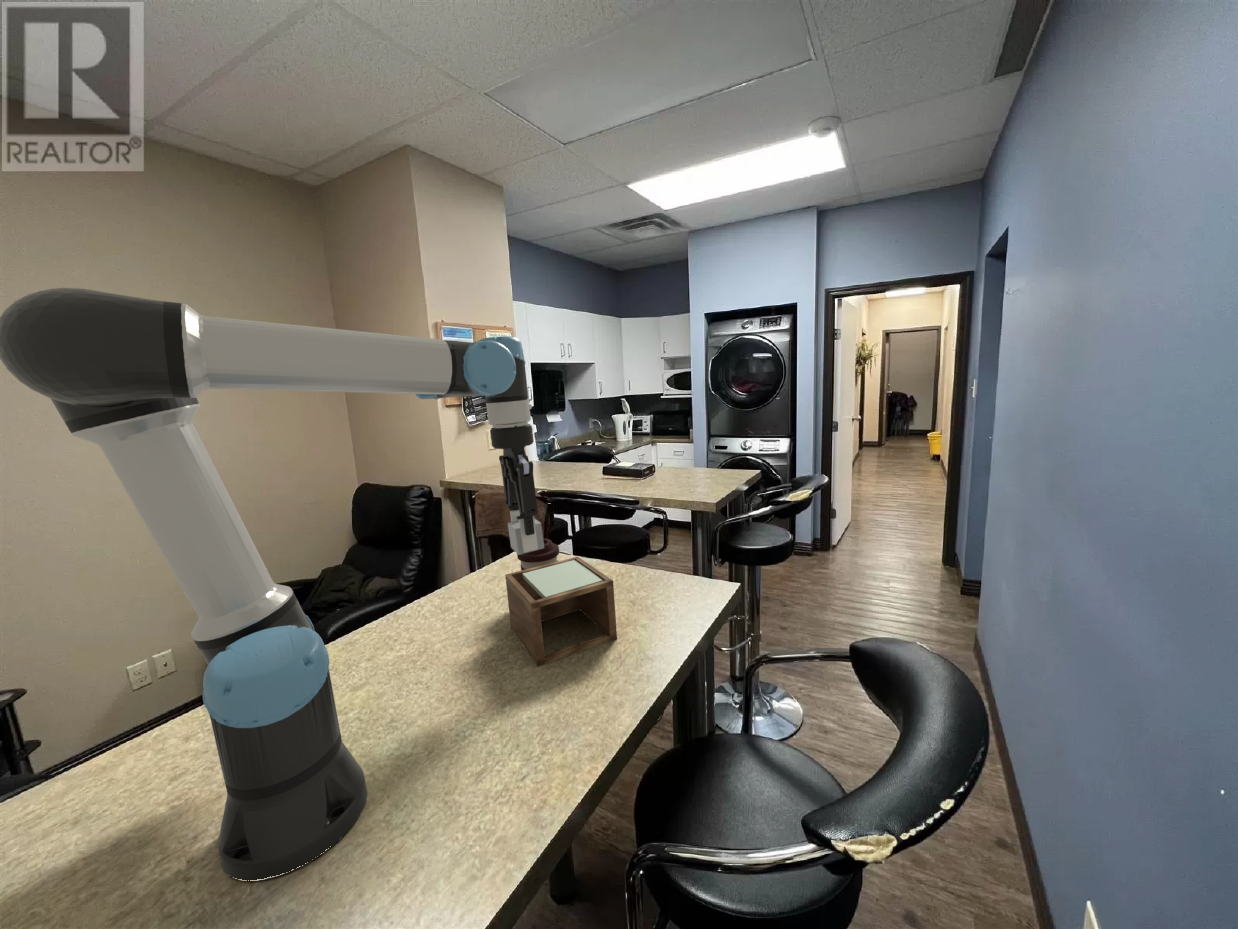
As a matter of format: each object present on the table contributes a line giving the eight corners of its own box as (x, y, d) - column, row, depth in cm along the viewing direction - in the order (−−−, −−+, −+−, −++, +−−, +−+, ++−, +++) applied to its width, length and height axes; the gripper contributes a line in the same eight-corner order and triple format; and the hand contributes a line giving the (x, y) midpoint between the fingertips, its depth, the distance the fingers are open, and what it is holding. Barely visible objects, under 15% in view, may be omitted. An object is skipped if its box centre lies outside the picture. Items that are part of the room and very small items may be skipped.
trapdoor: (546, 602, 90) (546, 597, 90) (522, 577, 103) (522, 573, 103) (605, 584, 96) (604, 580, 96) (575, 563, 109) (575, 559, 108)
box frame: (537, 666, 90) (531, 604, 87) (511, 628, 104) (505, 574, 102) (617, 638, 98) (613, 580, 95) (581, 607, 112) (577, 556, 110)
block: (518, 555, 88) (515, 529, 87) (511, 547, 93) (507, 522, 92) (544, 548, 90) (541, 523, 90) (535, 541, 95) (532, 517, 94)
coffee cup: (571, 597, 118) (566, 538, 115) (544, 614, 110) (539, 552, 107) (541, 589, 123) (535, 534, 121) (513, 606, 115) (507, 546, 113)
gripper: (547, 424, 81) (561, 554, 85) (516, 420, 97) (529, 530, 101) (503, 430, 77) (520, 565, 82) (478, 424, 93) (494, 538, 97)
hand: (525, 545), depth 91 cm, fingers closed on block, 5 cm apart
